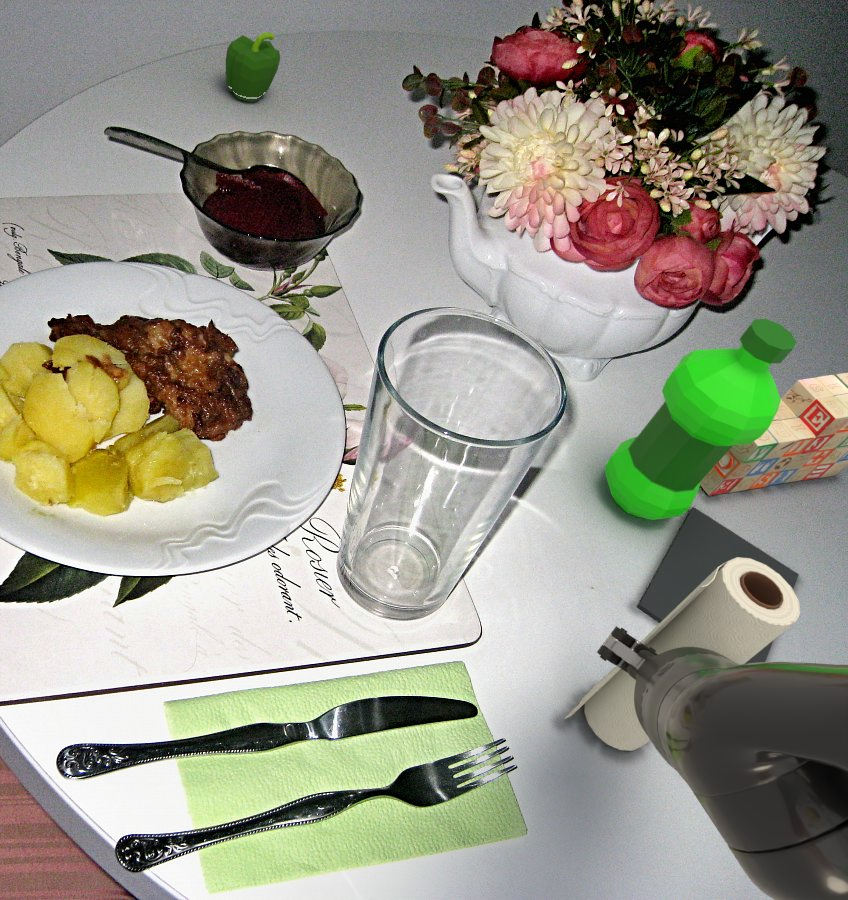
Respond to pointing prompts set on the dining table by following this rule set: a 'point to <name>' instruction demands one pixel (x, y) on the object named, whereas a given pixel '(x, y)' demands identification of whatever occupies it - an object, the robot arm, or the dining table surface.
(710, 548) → the mat
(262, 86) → the bell pepper
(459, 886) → the dining table surface
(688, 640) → the paper towel roll
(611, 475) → the plastic bottle
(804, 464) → the stack of blocks
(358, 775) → the dining table surface
